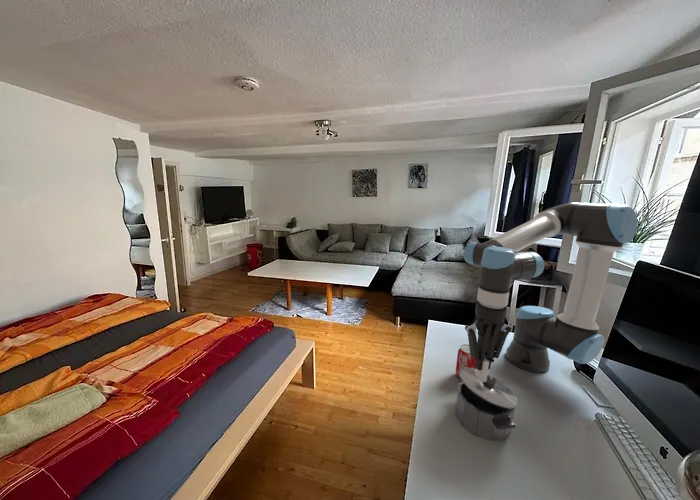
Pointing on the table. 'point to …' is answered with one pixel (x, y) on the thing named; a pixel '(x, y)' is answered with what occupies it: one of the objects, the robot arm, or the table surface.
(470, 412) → the pot
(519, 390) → the table surface
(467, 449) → the table surface
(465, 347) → the soda can
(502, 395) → the lid
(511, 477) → the table surface
